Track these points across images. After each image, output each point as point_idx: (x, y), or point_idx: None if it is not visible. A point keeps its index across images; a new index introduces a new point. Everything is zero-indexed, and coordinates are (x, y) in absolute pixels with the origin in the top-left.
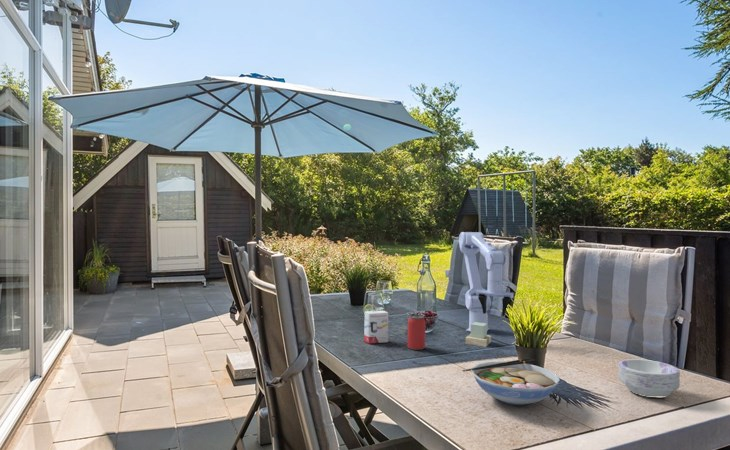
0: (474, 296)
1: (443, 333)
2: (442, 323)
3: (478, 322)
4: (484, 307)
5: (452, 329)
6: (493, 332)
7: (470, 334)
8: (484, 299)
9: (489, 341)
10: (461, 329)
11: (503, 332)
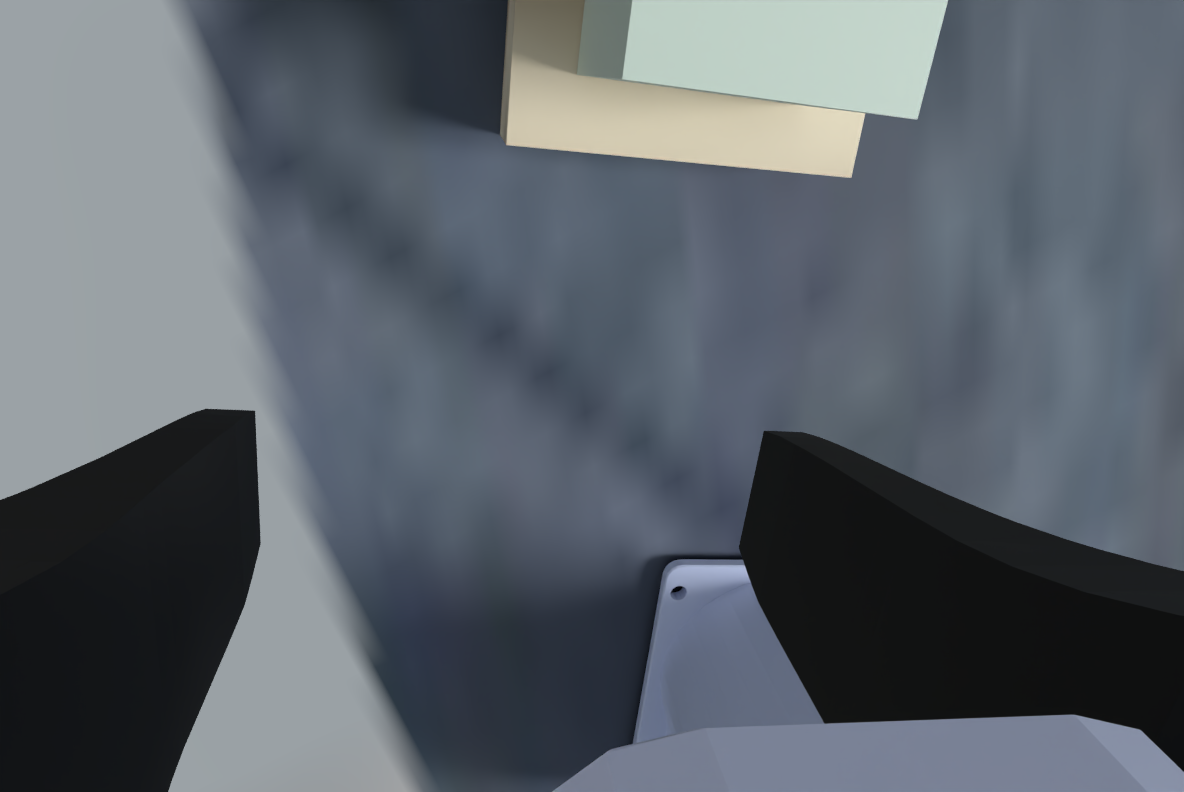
0: None
1: (1174, 319)
2: None
3: (829, 100)
4: (857, 503)
5: None
6: (559, 677)
7: None
8: (1053, 712)
9: (508, 19)
10: None
11: (440, 737)
